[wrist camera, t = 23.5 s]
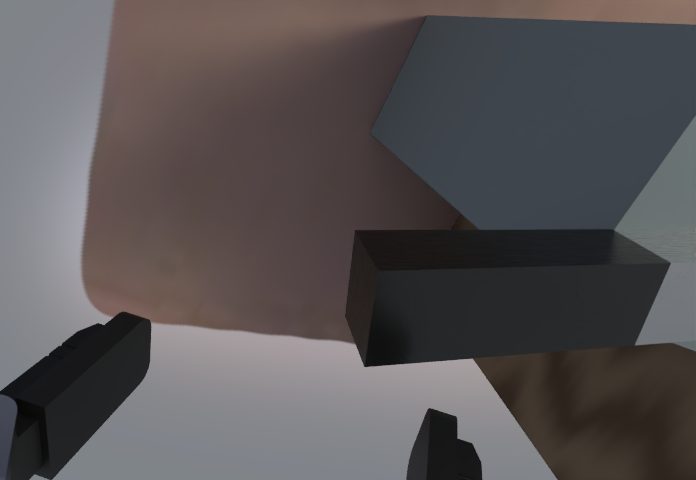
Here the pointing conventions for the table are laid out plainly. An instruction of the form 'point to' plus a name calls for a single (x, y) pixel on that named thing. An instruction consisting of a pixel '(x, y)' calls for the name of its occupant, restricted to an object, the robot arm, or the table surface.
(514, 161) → the grey rectangular box
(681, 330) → the lever bar
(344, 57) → the table surface
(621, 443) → the upright wooden block
